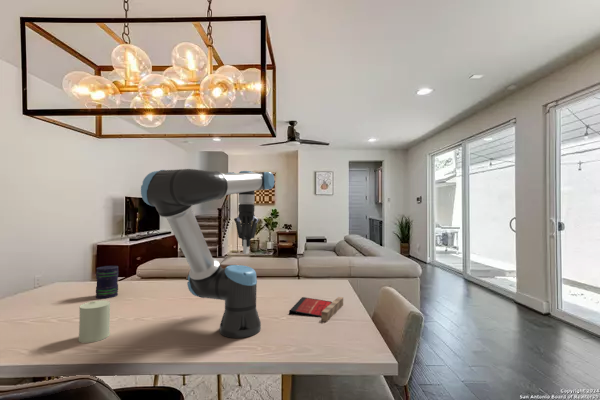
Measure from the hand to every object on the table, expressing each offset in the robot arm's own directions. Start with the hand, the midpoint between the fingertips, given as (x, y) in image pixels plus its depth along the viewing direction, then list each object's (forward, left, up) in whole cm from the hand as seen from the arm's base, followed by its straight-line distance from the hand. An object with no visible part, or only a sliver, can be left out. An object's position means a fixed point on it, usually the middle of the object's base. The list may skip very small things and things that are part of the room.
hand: (246, 253), depth 143 cm
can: (-52, +28, -25) cm, 64 cm away
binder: (+10, -30, -25) cm, 40 cm away
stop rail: (+8, -41, -24) cm, 48 cm away
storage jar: (-18, +74, -25) cm, 80 cm away
